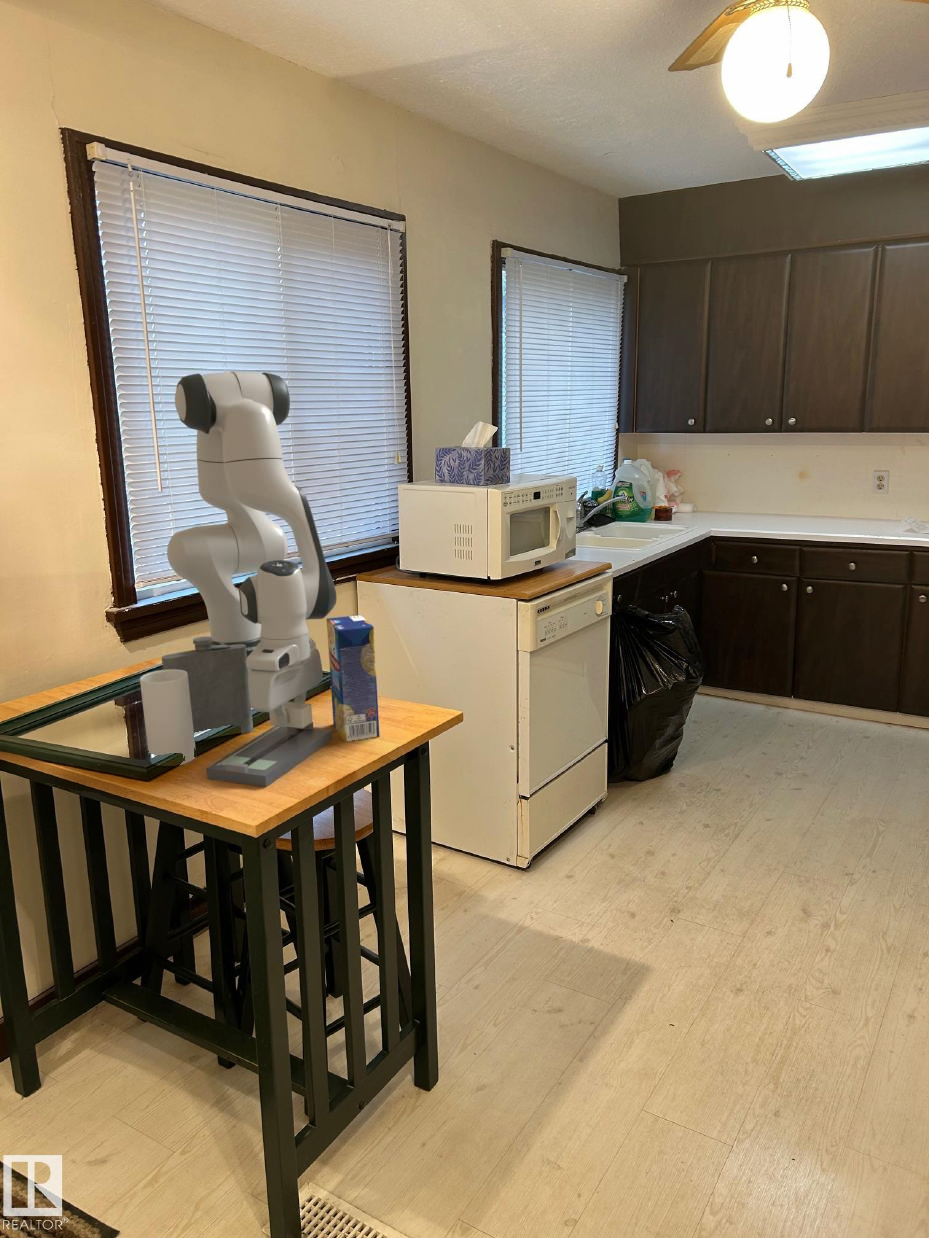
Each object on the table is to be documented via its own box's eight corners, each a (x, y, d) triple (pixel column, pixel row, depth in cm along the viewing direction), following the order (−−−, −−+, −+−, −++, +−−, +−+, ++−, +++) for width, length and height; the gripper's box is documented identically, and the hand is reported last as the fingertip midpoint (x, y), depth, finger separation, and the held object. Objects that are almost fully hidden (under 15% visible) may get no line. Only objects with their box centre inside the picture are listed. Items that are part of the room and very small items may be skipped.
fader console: (278, 733, 176) (277, 718, 176) (332, 739, 172) (331, 724, 171) (207, 778, 156) (205, 761, 155) (266, 786, 151) (264, 769, 151)
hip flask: (173, 747, 171) (161, 646, 166) (169, 741, 174) (157, 641, 170) (255, 731, 178) (246, 634, 173) (249, 725, 181) (241, 630, 177)
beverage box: (366, 719, 183) (360, 614, 178) (379, 736, 173) (373, 626, 168) (333, 723, 181) (326, 618, 176) (344, 742, 171) (337, 630, 166)
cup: (179, 746, 171) (170, 666, 167) (205, 756, 166) (196, 673, 162) (140, 760, 165) (130, 677, 161) (165, 770, 160) (156, 685, 156)
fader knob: (281, 727, 173) (279, 700, 171) (313, 731, 170) (311, 703, 169) (271, 734, 169) (268, 706, 168) (303, 737, 167) (301, 710, 166)
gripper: (300, 634, 176) (304, 700, 180) (239, 662, 158) (246, 735, 161) (328, 636, 174) (332, 703, 177) (270, 664, 156) (276, 739, 159)
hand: (291, 719), depth 169 cm, fingers closed on fader knob, 4 cm apart
